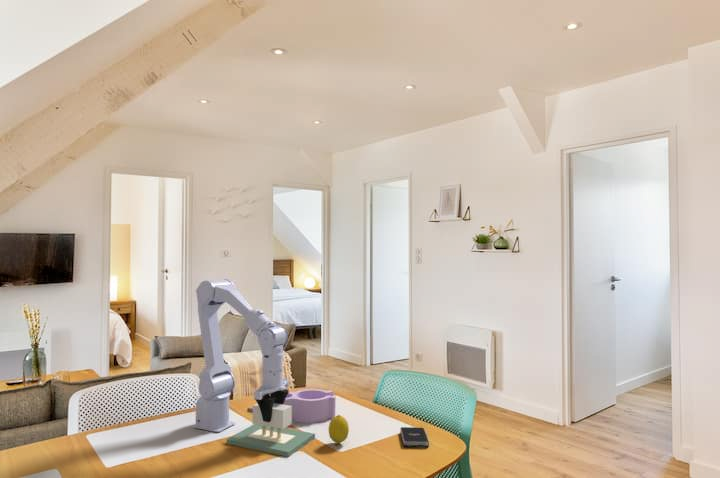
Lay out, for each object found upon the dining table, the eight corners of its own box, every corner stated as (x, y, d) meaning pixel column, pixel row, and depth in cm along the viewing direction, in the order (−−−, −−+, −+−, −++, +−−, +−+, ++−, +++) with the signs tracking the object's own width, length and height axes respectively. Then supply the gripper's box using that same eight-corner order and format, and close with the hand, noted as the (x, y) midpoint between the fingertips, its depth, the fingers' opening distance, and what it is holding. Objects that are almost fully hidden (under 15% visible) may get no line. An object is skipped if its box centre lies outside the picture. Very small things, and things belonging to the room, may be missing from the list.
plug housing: (243, 421, 139) (243, 403, 139) (252, 416, 143) (253, 399, 143) (282, 428, 134) (283, 410, 134) (291, 423, 138) (291, 405, 138)
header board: (226, 443, 135) (226, 430, 135) (256, 426, 148) (256, 414, 148) (288, 456, 127) (288, 442, 127) (314, 437, 140) (315, 424, 140)
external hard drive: (403, 449, 134) (403, 441, 134) (400, 433, 145) (400, 427, 145) (429, 449, 134) (429, 442, 134) (423, 434, 145) (423, 427, 145)
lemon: (346, 449, 133) (346, 419, 133) (326, 447, 134) (326, 417, 134) (350, 441, 138) (350, 412, 138) (331, 439, 139) (331, 410, 139)
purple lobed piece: (271, 424, 151) (271, 402, 151) (272, 411, 163) (272, 390, 163) (336, 422, 154) (336, 399, 154) (332, 409, 166) (332, 388, 166)
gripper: (269, 377, 130) (269, 429, 130) (298, 365, 143) (297, 412, 143) (247, 374, 133) (247, 425, 132) (277, 363, 146) (277, 409, 146)
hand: (271, 418), depth 138 cm, fingers closed on plug housing, 4 cm apart
